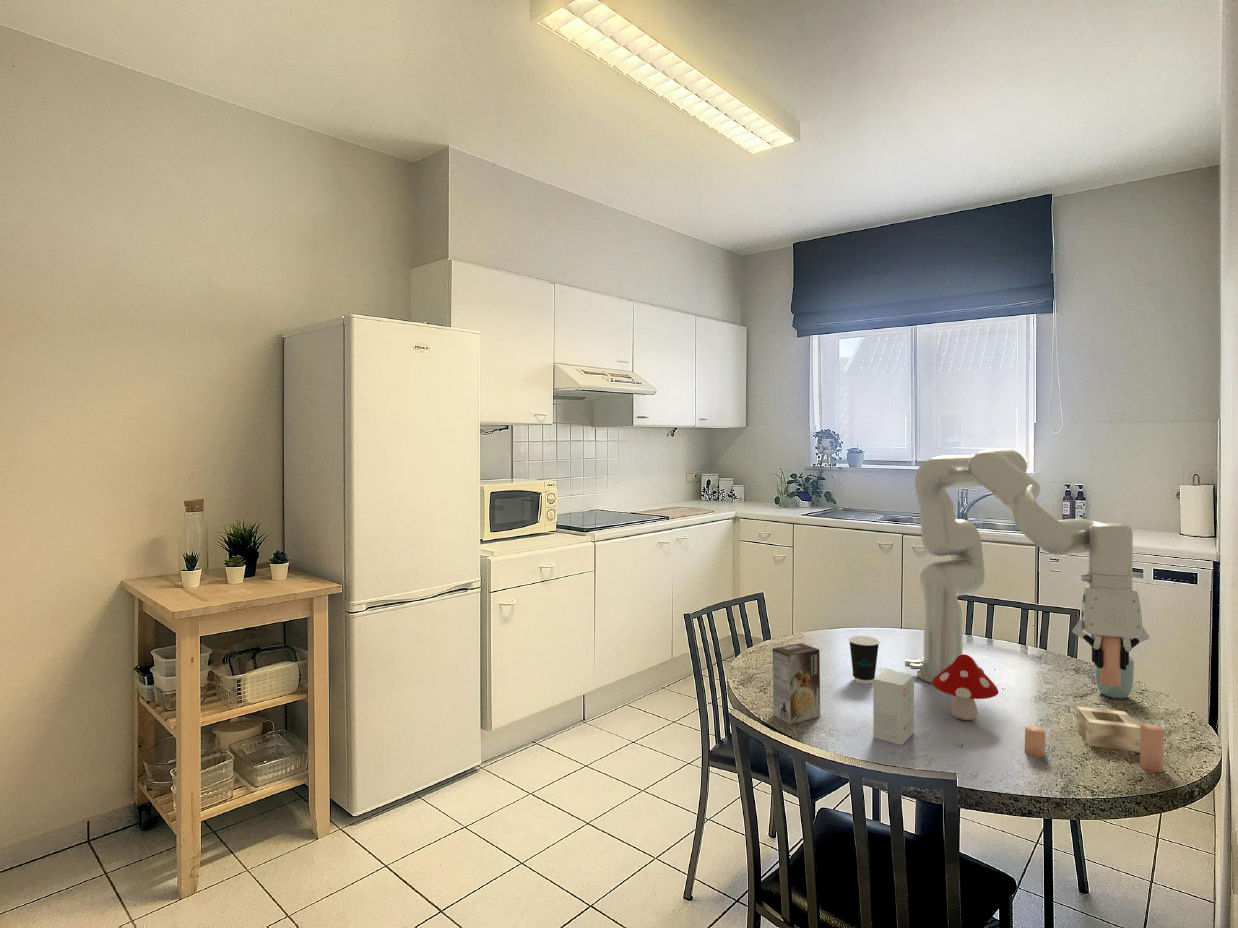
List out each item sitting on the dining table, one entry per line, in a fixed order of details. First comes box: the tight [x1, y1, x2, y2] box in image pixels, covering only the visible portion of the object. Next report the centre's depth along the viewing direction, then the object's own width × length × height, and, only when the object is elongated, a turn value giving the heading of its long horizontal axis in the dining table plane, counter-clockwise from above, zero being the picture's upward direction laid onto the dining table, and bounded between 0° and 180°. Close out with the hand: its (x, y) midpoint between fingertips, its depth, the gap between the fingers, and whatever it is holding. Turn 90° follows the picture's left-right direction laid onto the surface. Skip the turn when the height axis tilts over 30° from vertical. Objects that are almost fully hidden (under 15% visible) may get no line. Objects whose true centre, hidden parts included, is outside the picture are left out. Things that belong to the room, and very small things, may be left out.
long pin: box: [1100, 636, 1121, 687], centre depth 147 cm, size 4×4×12 cm
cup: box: [1094, 655, 1135, 699], centre depth 172 cm, size 8×8×10 cm
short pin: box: [1024, 725, 1046, 759], centre depth 142 cm, size 4×4×5 cm
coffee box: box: [772, 642, 821, 725], centre depth 161 cm, size 9×6×16 cm
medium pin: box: [1139, 723, 1165, 773], centre depth 135 cm, size 4×4×8 cm
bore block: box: [1075, 706, 1141, 753], centre depth 148 cm, size 9×9×5 cm
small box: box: [872, 669, 915, 746], centre depth 150 cm, size 8×6×13 cm
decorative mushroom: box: [931, 654, 999, 721], centre depth 159 cm, size 14×14×15 cm
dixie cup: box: [848, 635, 881, 685], centre depth 184 cm, size 8×8×11 cm
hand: (1110, 666), depth 147 cm, fingers closed on long pin, 3 cm apart
